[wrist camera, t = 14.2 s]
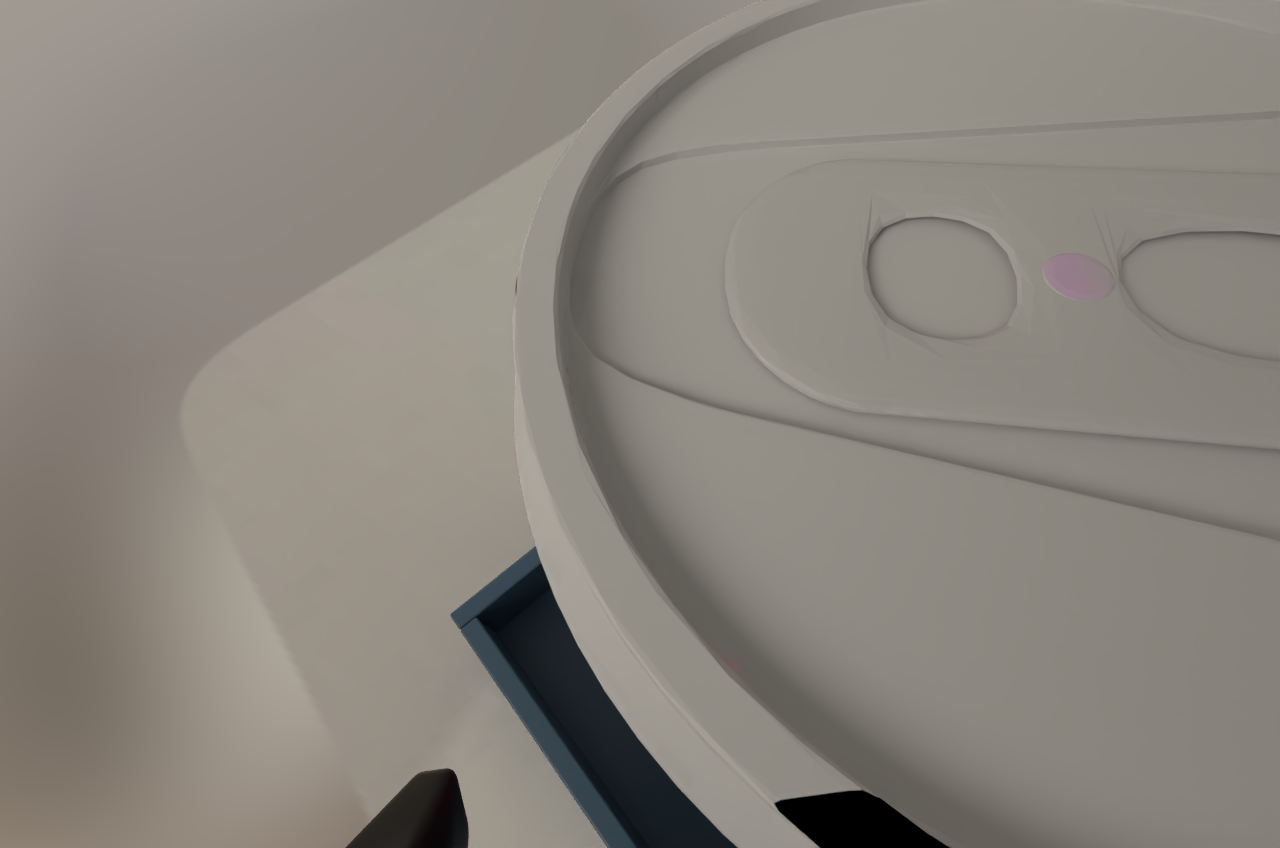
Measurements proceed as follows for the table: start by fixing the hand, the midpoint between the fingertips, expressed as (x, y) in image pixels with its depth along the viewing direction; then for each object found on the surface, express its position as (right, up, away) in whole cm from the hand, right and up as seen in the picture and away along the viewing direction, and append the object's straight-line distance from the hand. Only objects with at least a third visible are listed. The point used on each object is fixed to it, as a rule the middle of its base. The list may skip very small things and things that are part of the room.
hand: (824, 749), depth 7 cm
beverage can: (+1, -3, +9) cm, 9 cm away
